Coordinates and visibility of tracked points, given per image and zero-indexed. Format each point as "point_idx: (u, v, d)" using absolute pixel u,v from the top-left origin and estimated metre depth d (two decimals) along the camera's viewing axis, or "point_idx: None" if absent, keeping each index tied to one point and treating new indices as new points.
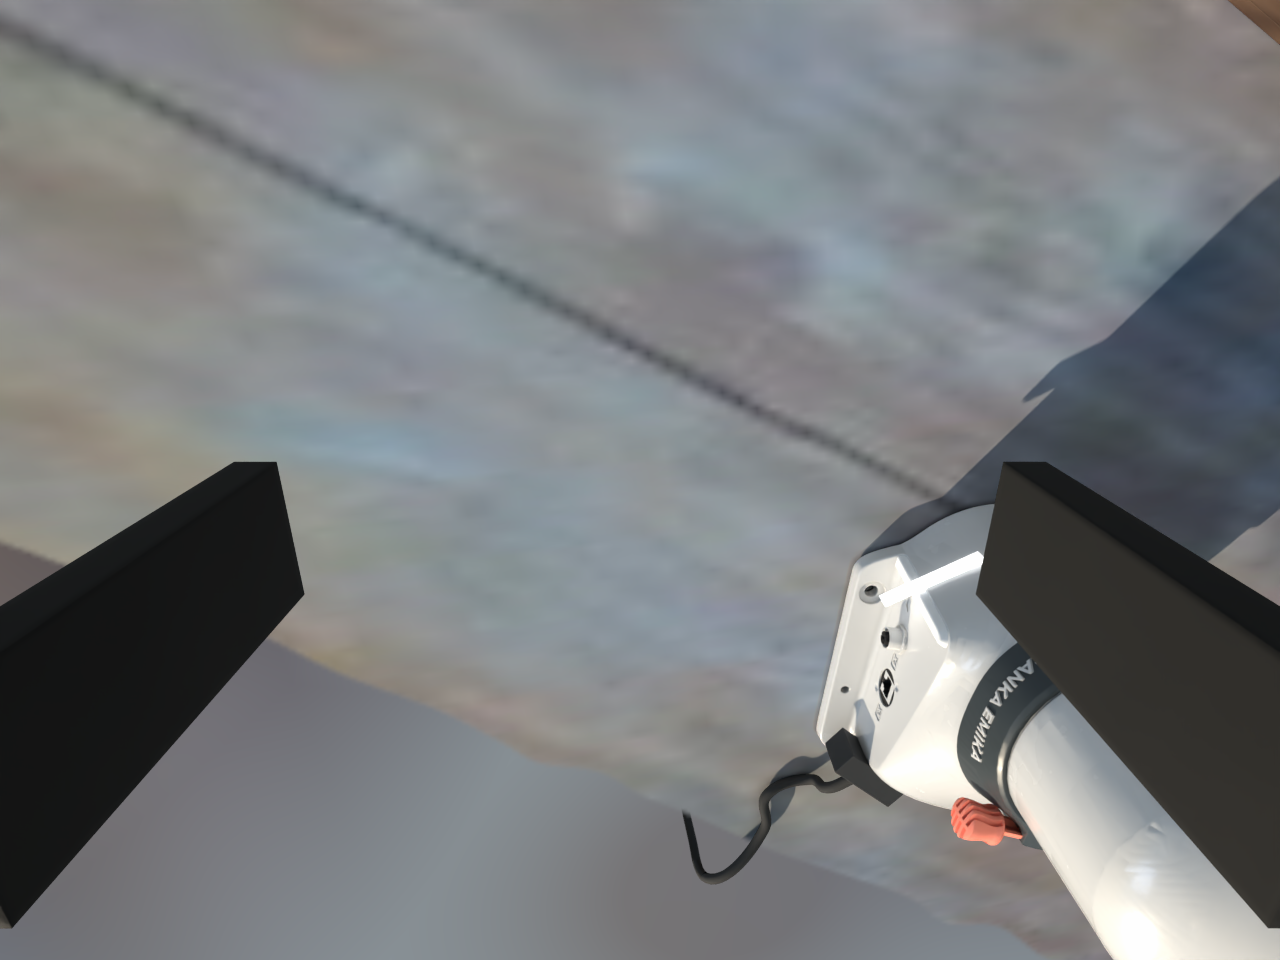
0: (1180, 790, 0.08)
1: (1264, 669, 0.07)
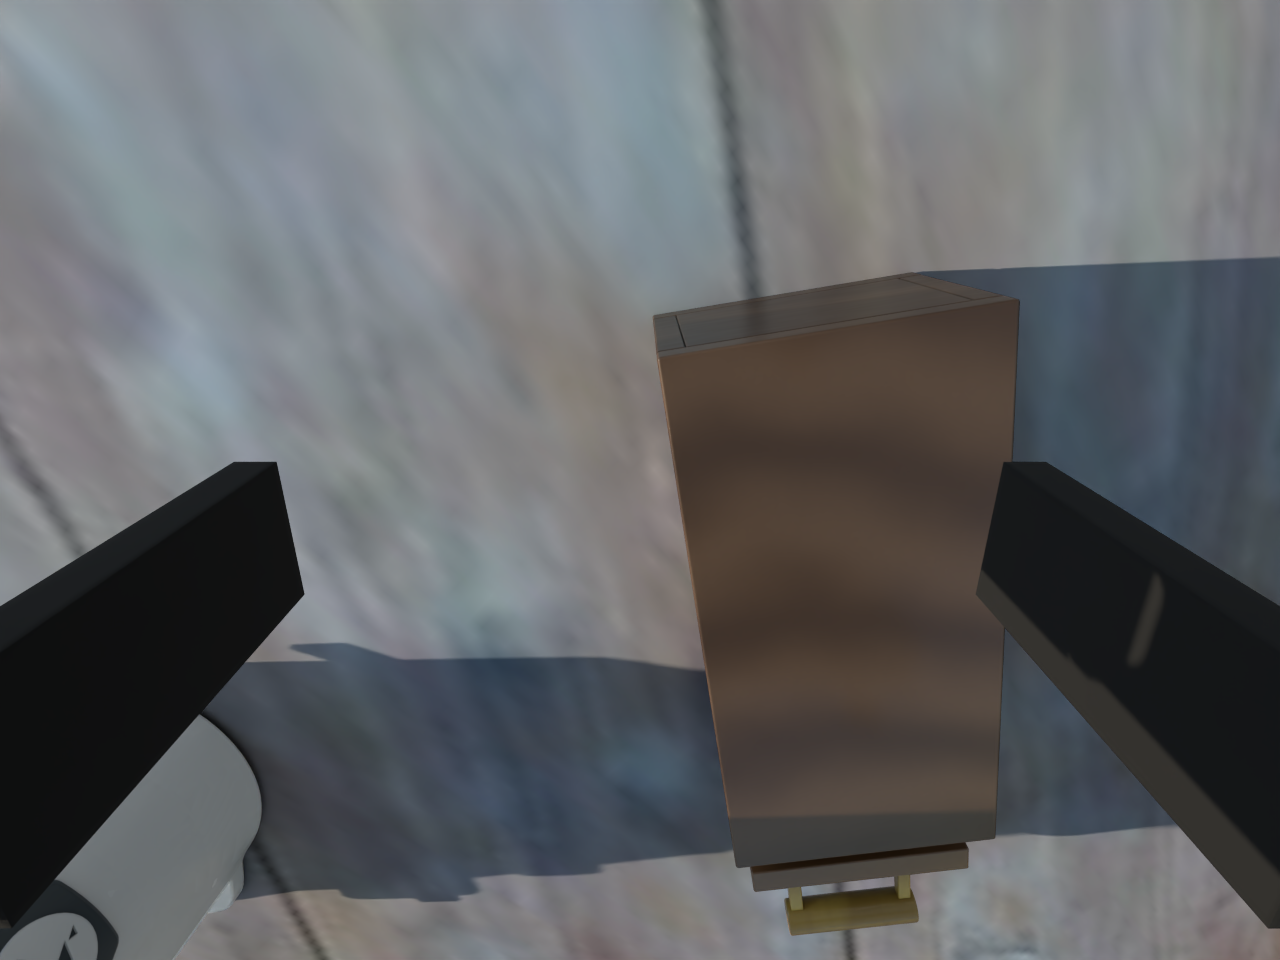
0: (1180, 789, 0.08)
1: (1264, 669, 0.07)
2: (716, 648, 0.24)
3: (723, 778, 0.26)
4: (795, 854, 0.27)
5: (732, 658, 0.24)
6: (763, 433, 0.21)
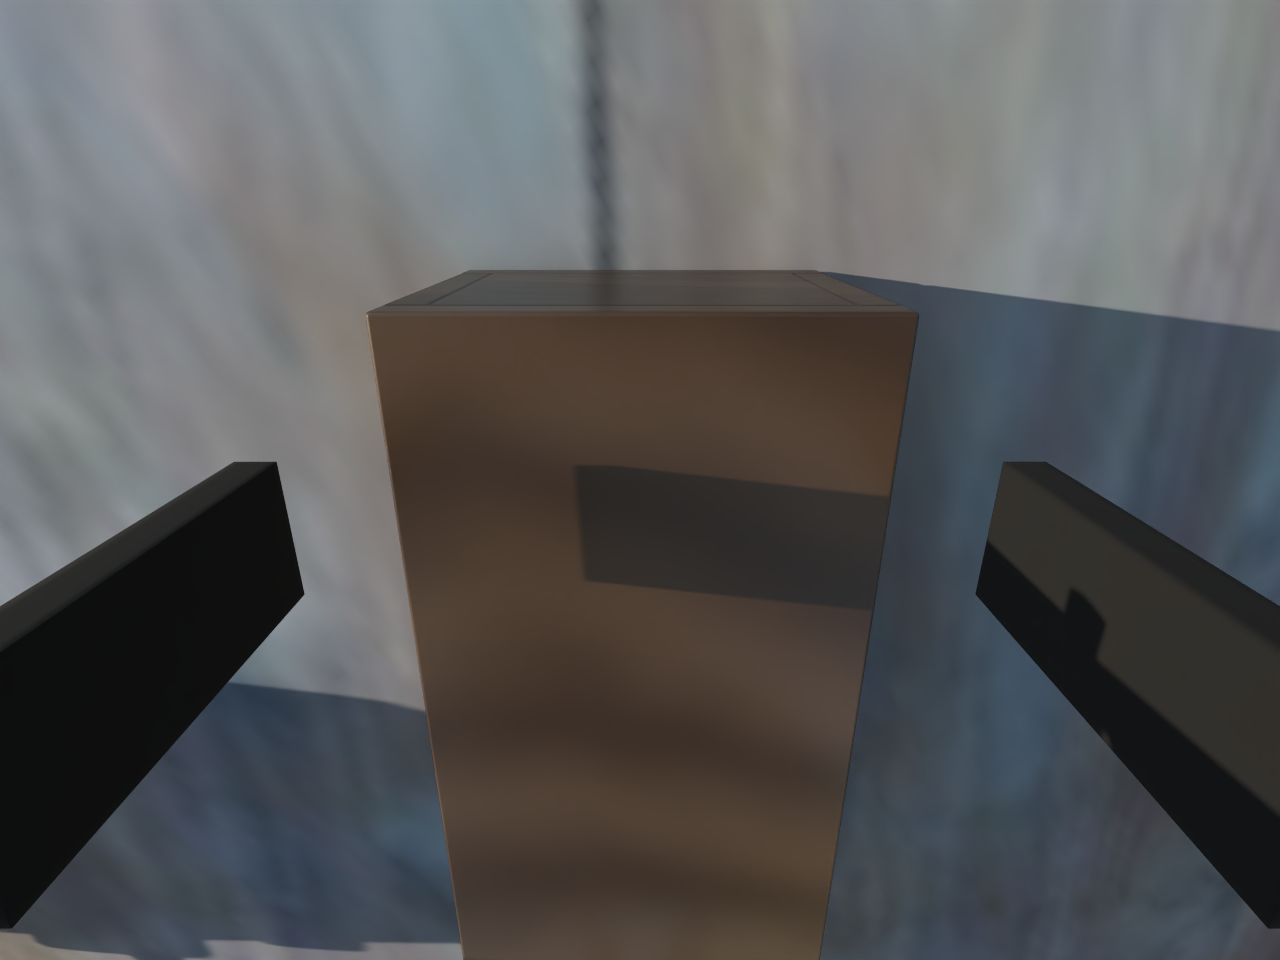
0: (1182, 790, 0.08)
1: (1264, 669, 0.07)
2: (449, 744, 0.17)
3: (456, 909, 0.19)
4: None
5: (472, 760, 0.17)
6: (525, 453, 0.14)
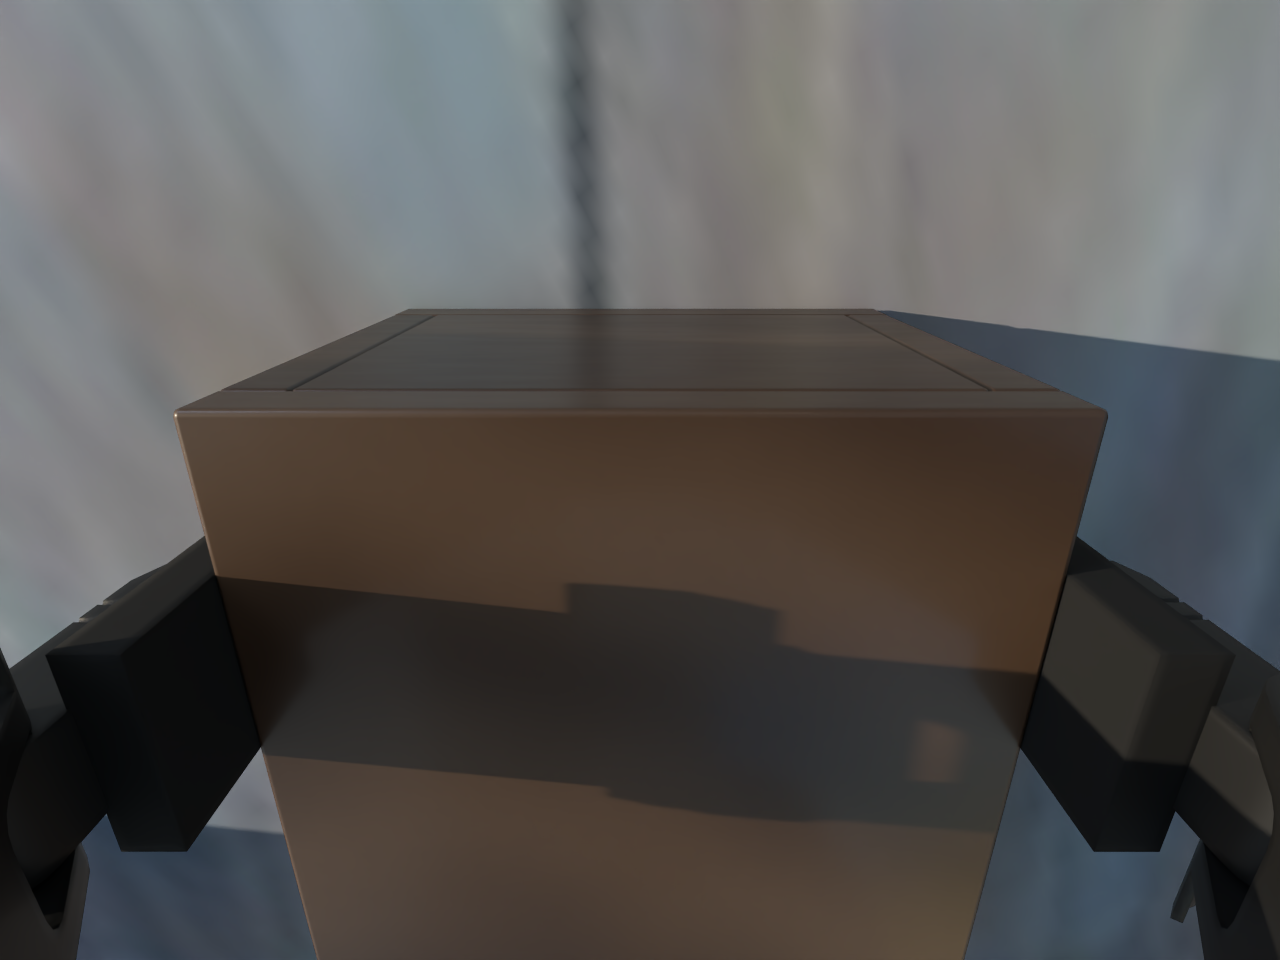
0: (1036, 735, 0.09)
1: (1092, 620, 0.08)
2: None
3: None
4: None
5: None
6: (452, 626, 0.09)
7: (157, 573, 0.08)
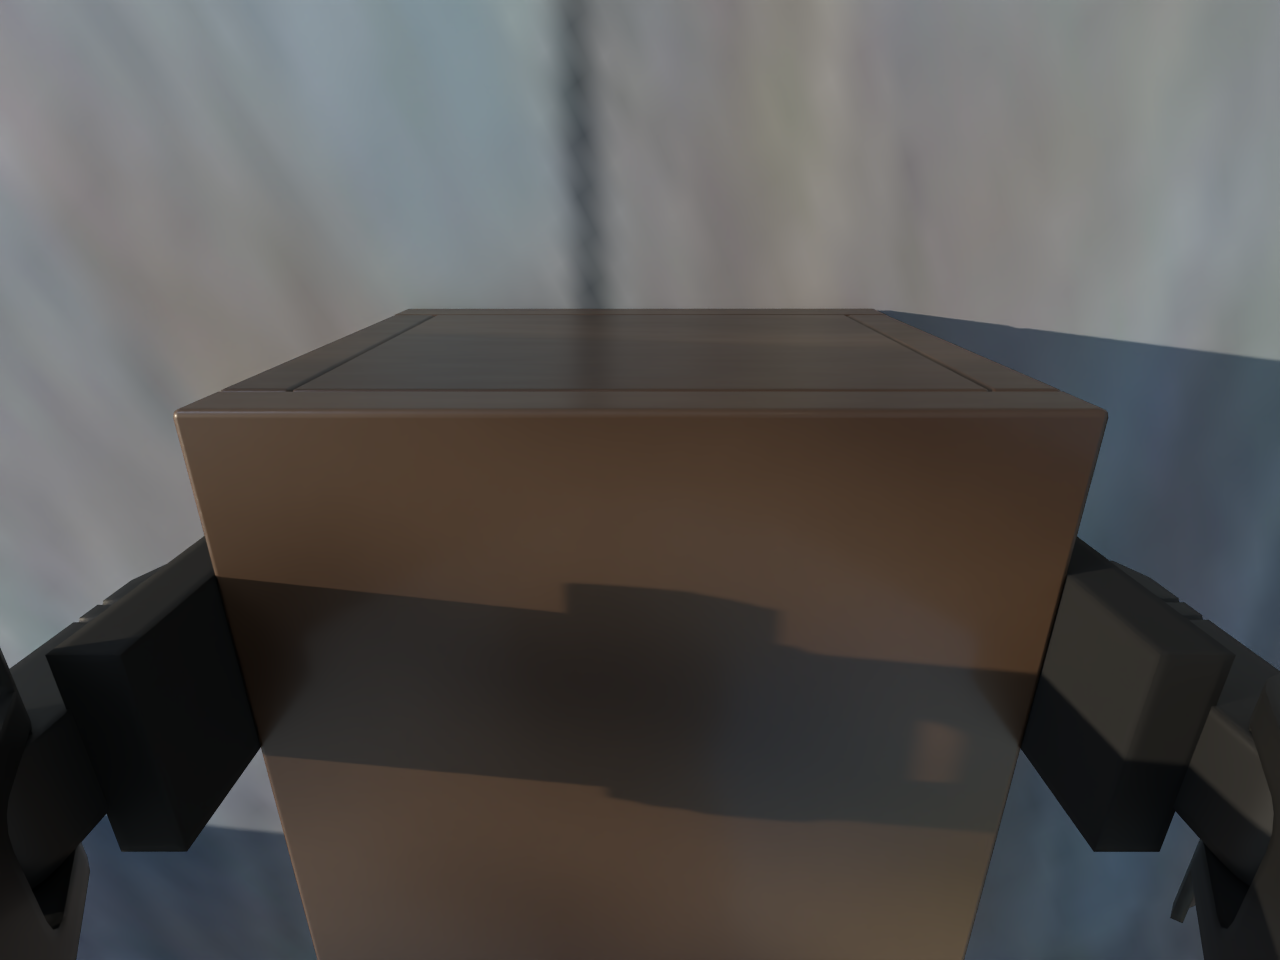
0: (1036, 735, 0.09)
1: (1091, 620, 0.08)
2: None
3: None
4: None
5: None
6: (452, 627, 0.09)
7: (157, 573, 0.08)
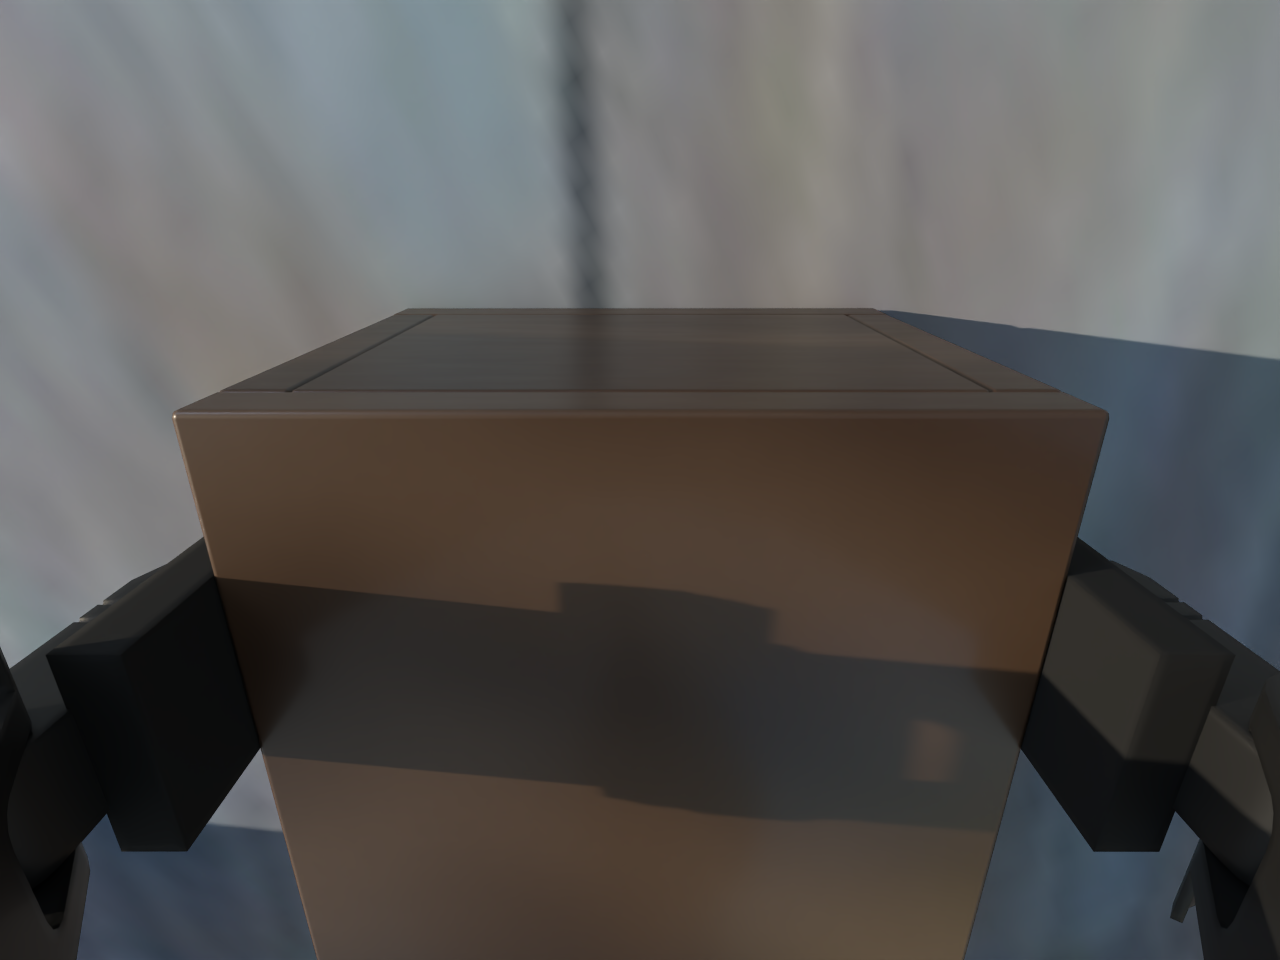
0: (1036, 736, 0.09)
1: (1092, 620, 0.08)
2: None
3: None
4: None
5: None
6: (452, 628, 0.08)
7: (157, 573, 0.08)
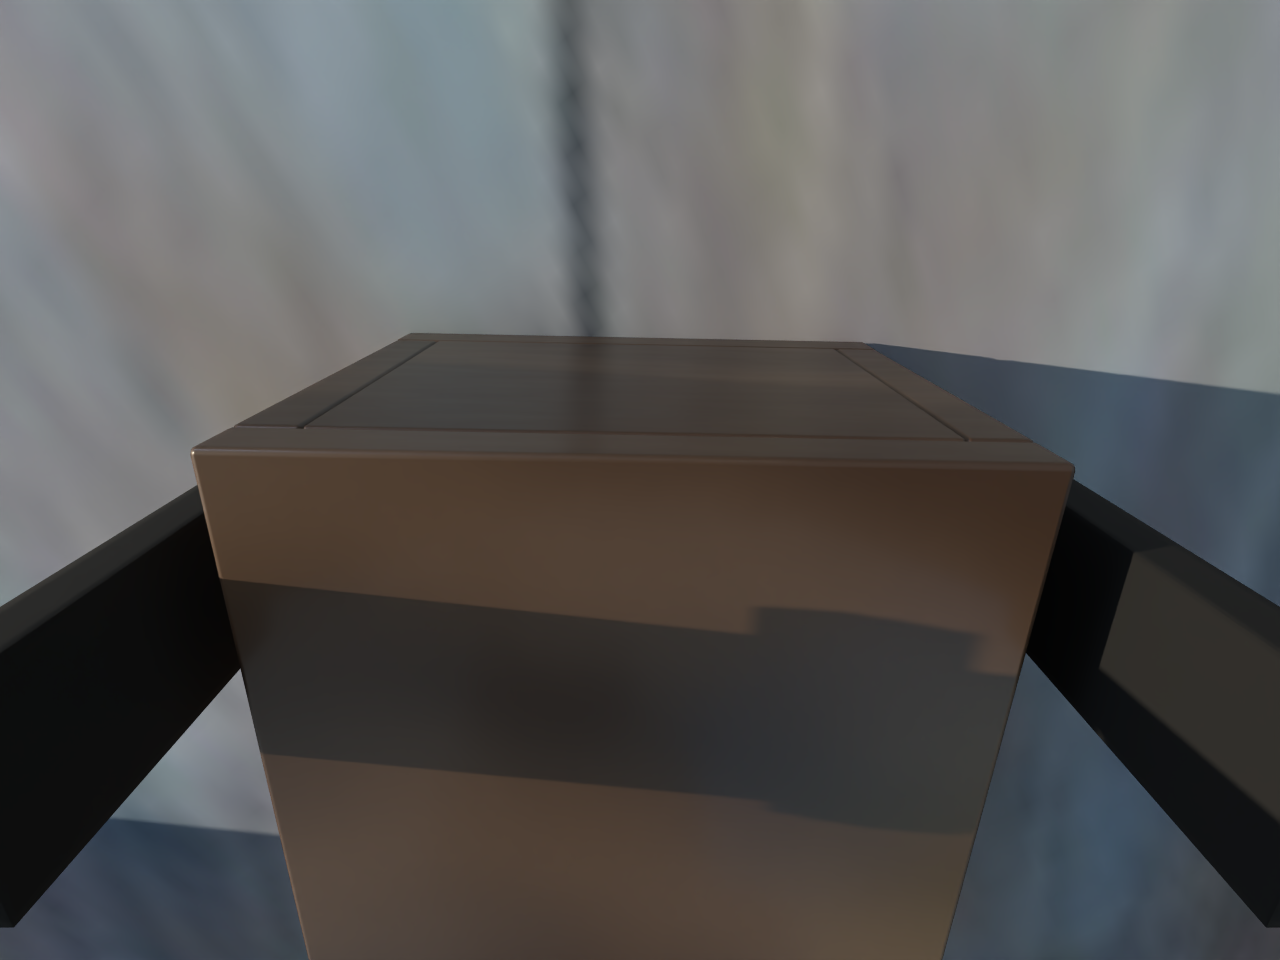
0: (1179, 789, 0.08)
1: (1262, 668, 0.07)
2: None
3: None
4: None
5: None
6: (452, 655, 0.09)
7: None
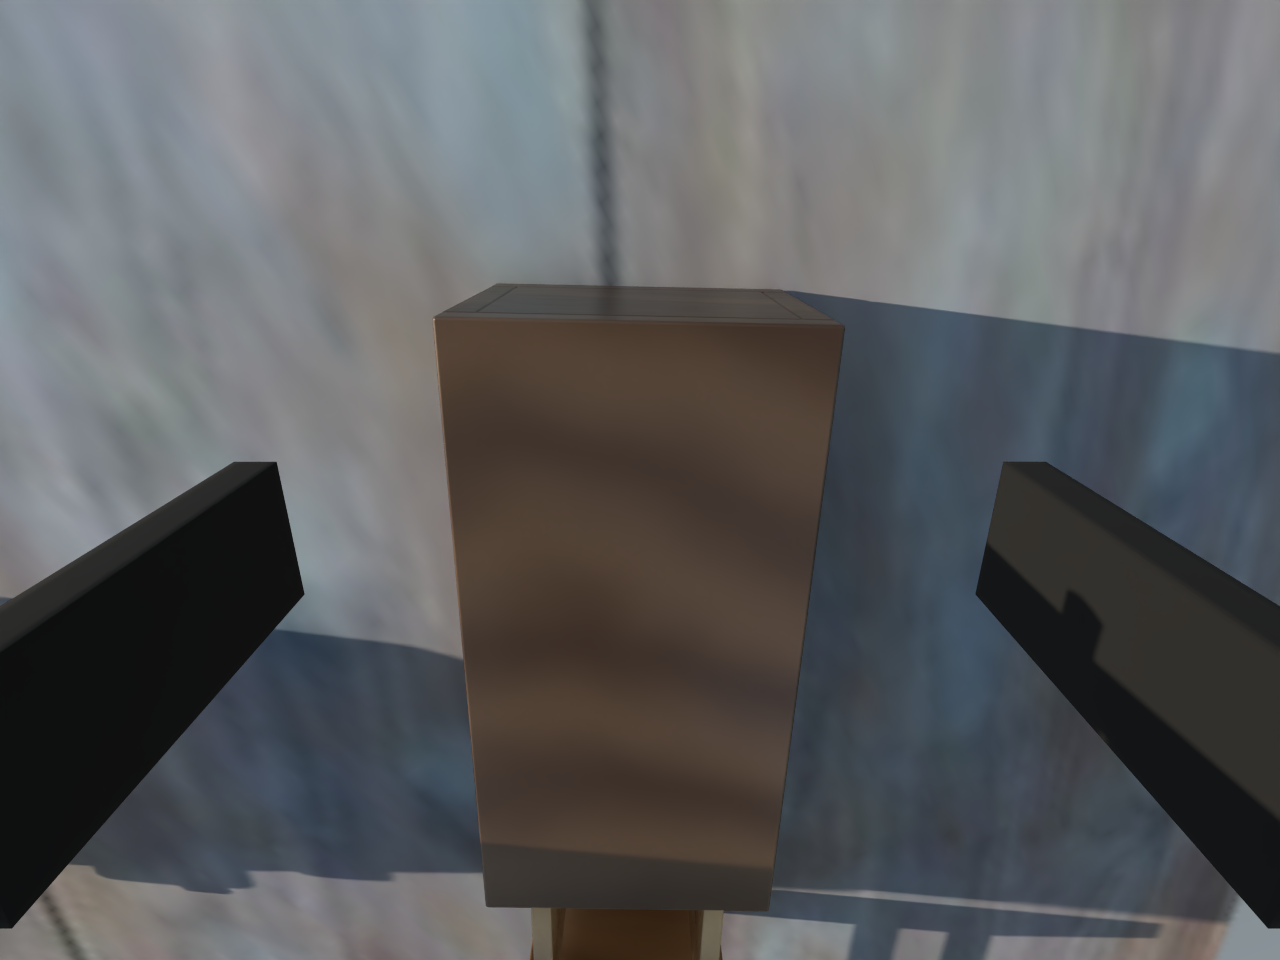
0: (1180, 789, 0.08)
1: (1264, 669, 0.07)
2: (478, 661, 0.21)
3: (477, 807, 0.23)
4: (552, 900, 0.25)
5: (497, 676, 0.21)
6: (548, 426, 0.18)
7: None
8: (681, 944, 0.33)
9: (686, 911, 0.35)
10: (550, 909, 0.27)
